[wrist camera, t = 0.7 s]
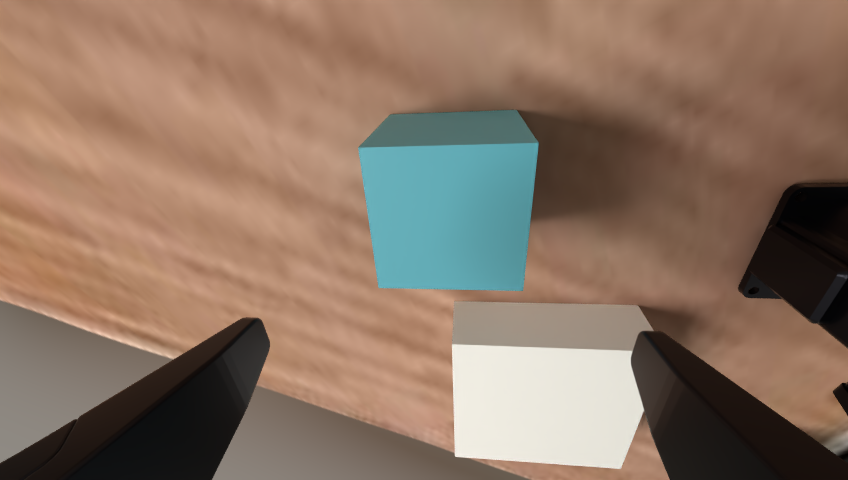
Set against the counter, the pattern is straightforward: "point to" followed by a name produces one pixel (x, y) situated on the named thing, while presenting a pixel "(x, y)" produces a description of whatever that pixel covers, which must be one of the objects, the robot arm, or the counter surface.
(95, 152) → the counter surface
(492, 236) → the teal cube
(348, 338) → the counter surface
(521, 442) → the off-white block
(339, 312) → the counter surface
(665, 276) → the counter surface
